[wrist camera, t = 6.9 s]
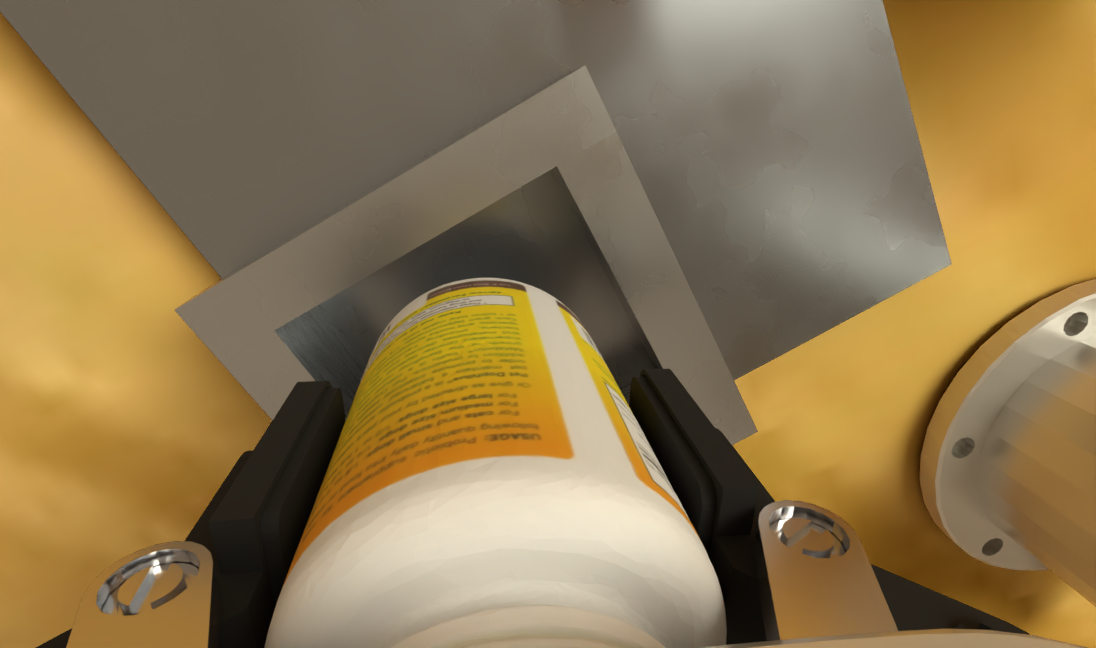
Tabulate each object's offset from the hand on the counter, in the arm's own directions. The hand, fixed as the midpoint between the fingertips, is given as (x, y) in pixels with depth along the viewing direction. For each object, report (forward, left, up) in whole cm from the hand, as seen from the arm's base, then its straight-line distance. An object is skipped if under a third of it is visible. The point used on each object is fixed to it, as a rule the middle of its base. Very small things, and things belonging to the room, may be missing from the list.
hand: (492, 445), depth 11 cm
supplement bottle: (0, 0, -3) cm, 3 cm away
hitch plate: (+4, -4, -7) cm, 9 cm away
